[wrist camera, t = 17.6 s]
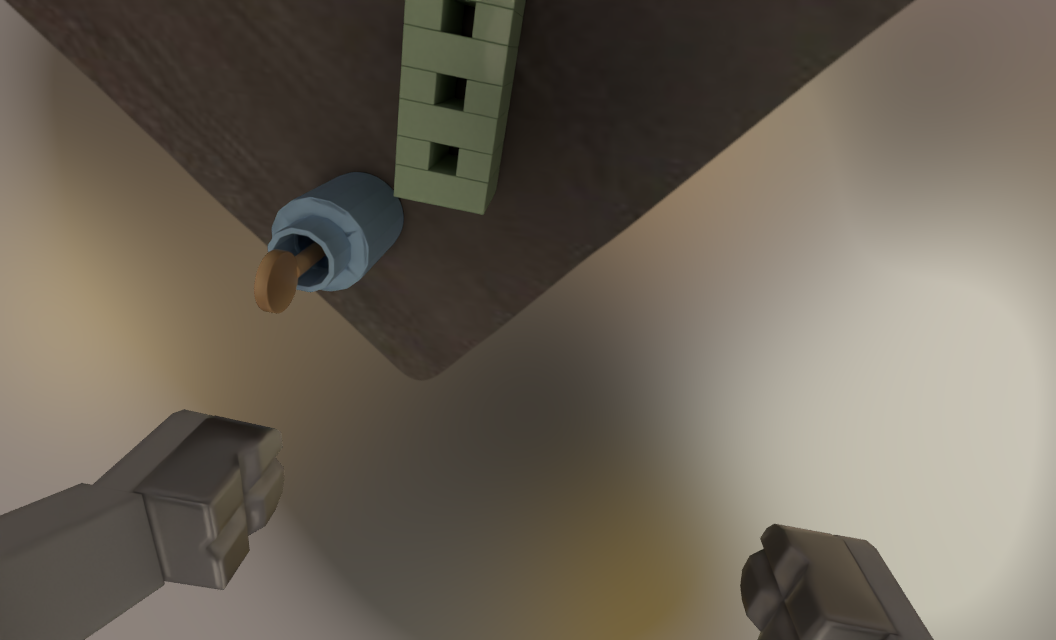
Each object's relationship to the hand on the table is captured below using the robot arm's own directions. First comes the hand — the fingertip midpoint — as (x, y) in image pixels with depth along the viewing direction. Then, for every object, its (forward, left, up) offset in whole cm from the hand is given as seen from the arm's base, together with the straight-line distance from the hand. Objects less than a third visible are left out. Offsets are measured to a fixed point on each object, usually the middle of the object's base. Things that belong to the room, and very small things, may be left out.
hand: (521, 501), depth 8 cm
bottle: (+9, -16, -37) cm, 41 cm away
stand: (-3, -8, -37) cm, 38 cm away
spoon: (+9, -16, -37) cm, 41 cm away
